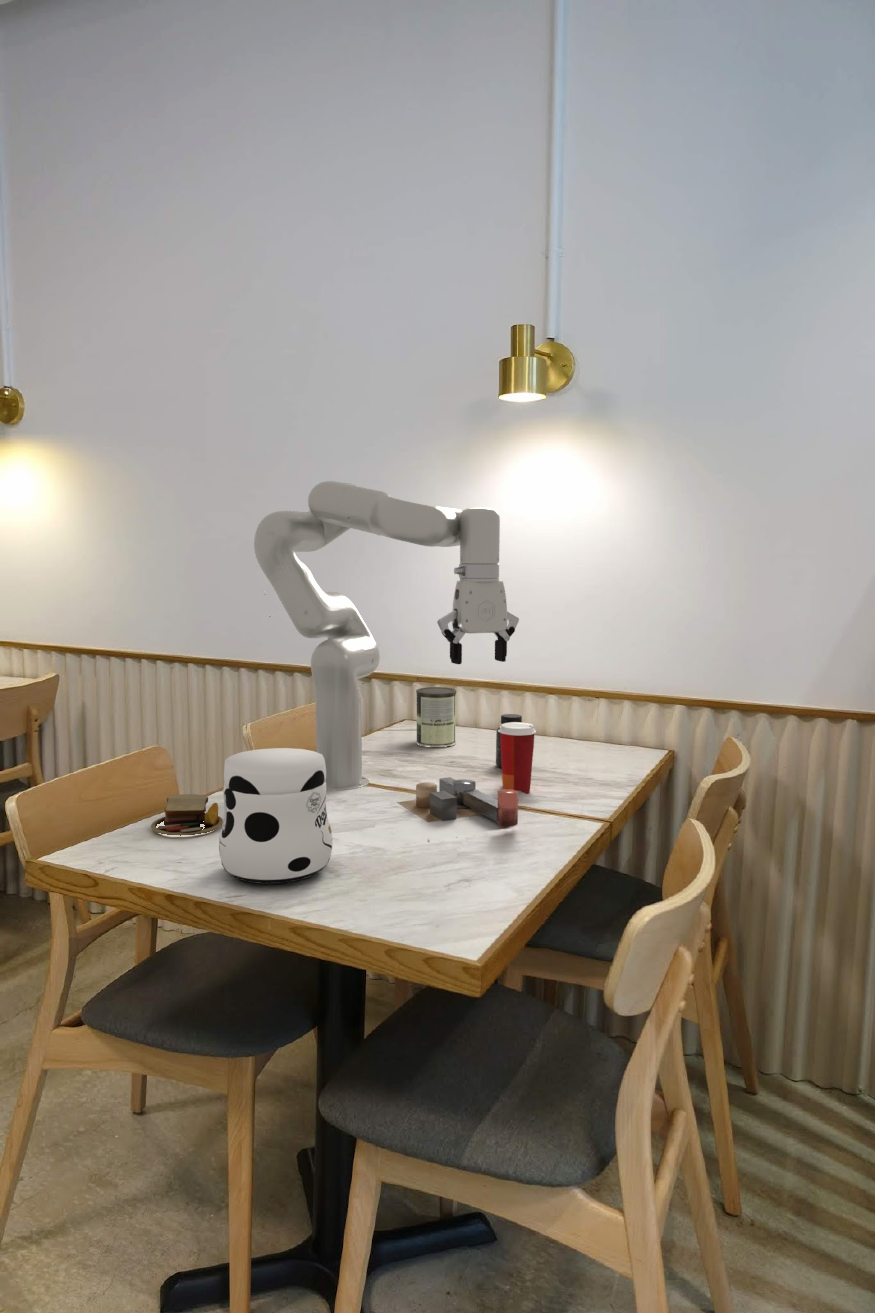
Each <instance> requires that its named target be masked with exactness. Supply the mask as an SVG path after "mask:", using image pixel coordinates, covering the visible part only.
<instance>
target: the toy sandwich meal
mask: <svg viewBox="0 0 875 1313" xmlns="http://www.w3.org/2000/svg"><path fill="white" fill-rule="evenodd" d="M207 803H209V796H207V795H203V794H194V793H193V794H192V793H191V794H190V793H189V794H188V793H187V794H185V793H184V794H173V795H169V796H167V798H166V806H165V807H164V816H162V817H160V818H158V819H156V820H154V821H152V822H151V825H150V828H151V830H152V831H153V832H155V833H156V832H157V833H161V834H167V835H180V836H181V835H195V834H201V833H207V832H210V831H213V830H215V829H217V828H218V827H219V828H220V827H222V825H223V821H224V818H223V817H221V816H219V806H218V805H219V804H218V802H213V803H212V804H211V806H210V807H209V808H208V810H207V807H206V806H207ZM163 821H164V825H165V826H159V827H158V828H156V826H157V824H160V823H161V822H163ZM203 821H204V822H203ZM200 824H204V825H205V826H204V827H205V828H204V829H203V827H200ZM219 828H218V829H219ZM202 829H203V830H202ZM218 829H217V830H218ZM215 831H216V830H215ZM213 832H214V831H213ZM157 833H156V834H157Z"/></svg>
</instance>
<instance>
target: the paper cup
mask: <svg viewBox="0 0 875 1313" xmlns="http://www.w3.org/2000/svg"><path fill="white" fill-rule="evenodd" d="M501 725H502V726H501ZM501 725H500V726H499V727H500V729H499V730H498V732H500V739H501V762H502V768H501V779H502V788H503V789H512V790H516V791H518V792H519V791H520V792H521V793H524V794H526V795H528V794H529V793H530V792H531V782H532V773H533V772H532V770H533V756H534V748H535V734H536V733H537V731H536V729H535V726H534V724H532V723H529V722H528V723H527V722H522V723H521V722H510V723H504V724H501Z"/></svg>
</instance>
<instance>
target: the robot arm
mask: <svg viewBox="0 0 875 1313" xmlns="http://www.w3.org/2000/svg"><path fill="white" fill-rule="evenodd" d="M307 504H308V509H309V511H295V510H294V511H293V510H277V511H274V512H271V513H269V514H267V515H265V516H264V517H263V518H262V520H261V521H260V522H259V524H258V525H257V527H256V530H255V535H254V543H253V548H254V554H255V558H256V560H257V563H258V565H259V567H260V569H261V570H262V572H263V574H264V575H265V577H266V578H267V580H268V582H269V583H270V585H271V586H272V588H273V589H274V592H275V594H276V595H277V597H278V599H279V601H280V602H281V604H282V607H283V608H284V610H285V612H286V613H287V615H288V617H289V618H290V621H291V622H292V625H293V626H294V628H295V629H296V631H297V632H298V634H299V635H301V636H303V637H304V638H307V639H320V638H327V639H326V640H324V641H323V640H322V642H321V643H319V644H318V645H317V646H316V647H315V648H314V650H313V652H312V654H311V658H310V670H311V675H312V676H311V677H312V682H313V687H314V697H315V698H314V701H315V703H314V704H315V727H316V728H315V745H316V751H315V752H317V753H320V754H322V755H323V757H324V760H325V765H326V791H349V790H355V789H356V790H357V789H360V788H364V787H365V786H367V785H368V784H370V780H369V778H368V777H366V776H363V774H362V771H363V770H362V768H363V763H362V760H363V758H362V757H363V753H362V750H363V749H362V748H363V747H362V746H363V743H362V738H363V736H362V734H363V733H362V732H363V730H362V700H361V699H362V698H361V693H360V690H359V686H358V683H357V682H358V681H357V680H360V679H362V678H365V677H368V676H370V675H372V674H373V673H374V672H375V671H376V669H377V668H378V667H379V664H380V658H381V656H380V649H379V646H378V644H377V642H376V641H375V640H376V639H374V636H373V634H372V633H371V631H370V629H369V627H368V626H367V624H366V623H365V621H364V619H363V617H362V616H361V614H360V612H359V610H358V608H356V606H355V604H354V603H353V602H352V601H351V600H350V598H348V597H347V596H346V595H344V594H342V593H340V592H337V591H326V592H325V591H324V590H323V589H322V588H321V587H320V585H319V584H318V582H317V580H316V579H315V577H314V575H313V573H312V571H311V570H310V569H309V567H307V565H306V564H305V563H304V561H302V560H301V559H300V558H299V557H298V555H297V553H302V552H303V553H305V552H306V553H309V552H311V553H312V552H316V551H318V550H320V549H323V548H324V547H326V546H327V545H329V544H330V543H332V542H333V541H335V540H336V539H337V538H339V537H340V536H342V535H343V534H345V533H346V532H348V531H349V530H350V529H354V530H357V531H362V532H366V533H369V534H374V535H377V536H382V537H386V538H390V539H393V540H397V541H401V542H405V543H410V544H414V545H417V546H419V545H420V546H424V547H442V548H443V547H444V548H448V547H449V548H450V547H457V546H459V564H458V567H454V570H453V573H454V575H457V576H458V578H459V580H456V584H455V588H454V594H453V601H452V610H451V612H449V613H447V614H446V615H444V616H442V617H441V618H438V619H437V622H436V623H437V625H438V627H439V630H440V631H441V634H442V636H443V637H444V638H445V639H446V641H447V642H449V659H450V661H451V662H450V663H452V664H455V665H461V664H462V663H463V644H462V643H460V641H461V640H462V638H463V637H464V636H465V634H489V633H491V634H492V633H493V634H494V635H495V636H496V638H497V639H495V641H494V660H495V661H498V662H506V661H507V658H506V657H507V654H508V653H507V652H508V641H510V639H511V637H512V635H513V634H514V633H515V631H516V628H517V626H518V624H519V621H520V619H519V617H518V616H516V615H515V614H512V613H510V612H509V611H508V606H507V596H506V589H505V585H504V584H505V583H504V580H500V542H501V540H500V537H501V536H500V535H501V534H500V533H501V532H500V530H501V529H500V528H501V526H500V525H501V523H500V522H501V517H500V513H499V511H498V510H497V509H495V508H492V507H469V508H465V509H458V508H451V507H443V506H435V505H434V506H432V505H427V504H421V503H416V502H411V501H407V500H403V499H399V498H395V497H392V496H390V494H389V493H387V492H386V491H381V490H376V489H372V488H366V487H361V486H357V485H355V484H352V483H346V482H339V481H333V480H327V481H323V482H322V481H321V482H319V483H318V484H316V485H314V486H313V488H312V489H311V490H310V492H309V494H308V499H307ZM450 622H451V624H452V625H451V627H452V631H451V629H450V628H449V626H448V625H449V624H450Z"/></svg>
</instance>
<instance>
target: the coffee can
mask: <svg viewBox="0 0 875 1313" xmlns="http://www.w3.org/2000/svg"><path fill="white" fill-rule="evenodd" d="M415 691H416V692H415V694H416V742H417V744H419V745H421V746H430V747H445V746H446V747H445V748H448V747H447V746H451V747H454V746H455V745H456V713H457V712H456V706H457V705H456V702H457V701H456V699H457V698H456V695H457V690H456V689H455V688H451V687H446V686H445V687H443V686H429V687H428V686H427V687H421V688H417V689H416V690H415ZM417 744H416V745H417ZM453 745H454V746H453ZM421 746H420V747H421Z"/></svg>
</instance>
